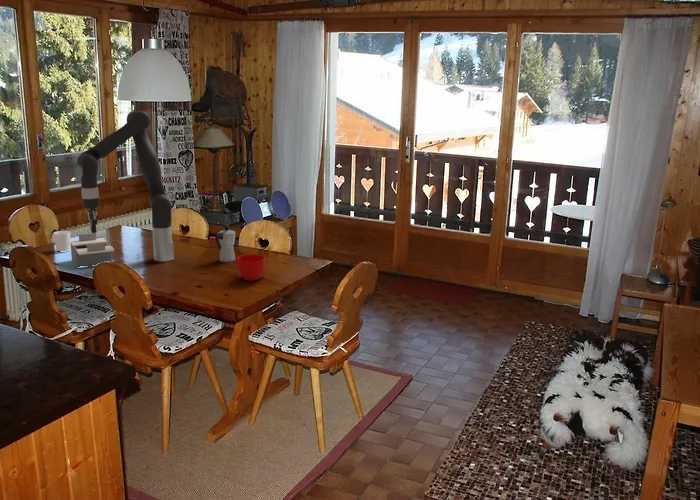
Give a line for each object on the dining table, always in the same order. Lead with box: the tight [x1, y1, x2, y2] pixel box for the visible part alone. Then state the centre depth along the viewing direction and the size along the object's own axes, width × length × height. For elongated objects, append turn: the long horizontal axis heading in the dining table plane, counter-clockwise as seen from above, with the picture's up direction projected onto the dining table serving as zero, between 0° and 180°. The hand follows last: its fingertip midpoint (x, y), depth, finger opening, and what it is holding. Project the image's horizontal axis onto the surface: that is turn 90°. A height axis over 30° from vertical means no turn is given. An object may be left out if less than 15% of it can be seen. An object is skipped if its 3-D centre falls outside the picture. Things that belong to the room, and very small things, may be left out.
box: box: [70, 242, 113, 268], centre depth 329 cm, size 16×16×9 cm
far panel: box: [70, 232, 108, 246], centre depth 330 cm, size 16×8×4 cm, turn 121°
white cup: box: [53, 230, 71, 252], centre depth 347 cm, size 8×8×10 cm
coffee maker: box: [214, 225, 236, 263], centre depth 338 cm, size 15×9×18 cm, turn 149°
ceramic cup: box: [235, 253, 266, 281], centre depth 312 cm, size 13×17×10 cm
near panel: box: [76, 242, 115, 255], centre depth 317 cm, size 16×8×4 cm, turn 121°
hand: (94, 232), depth 315 cm, fingers closed
